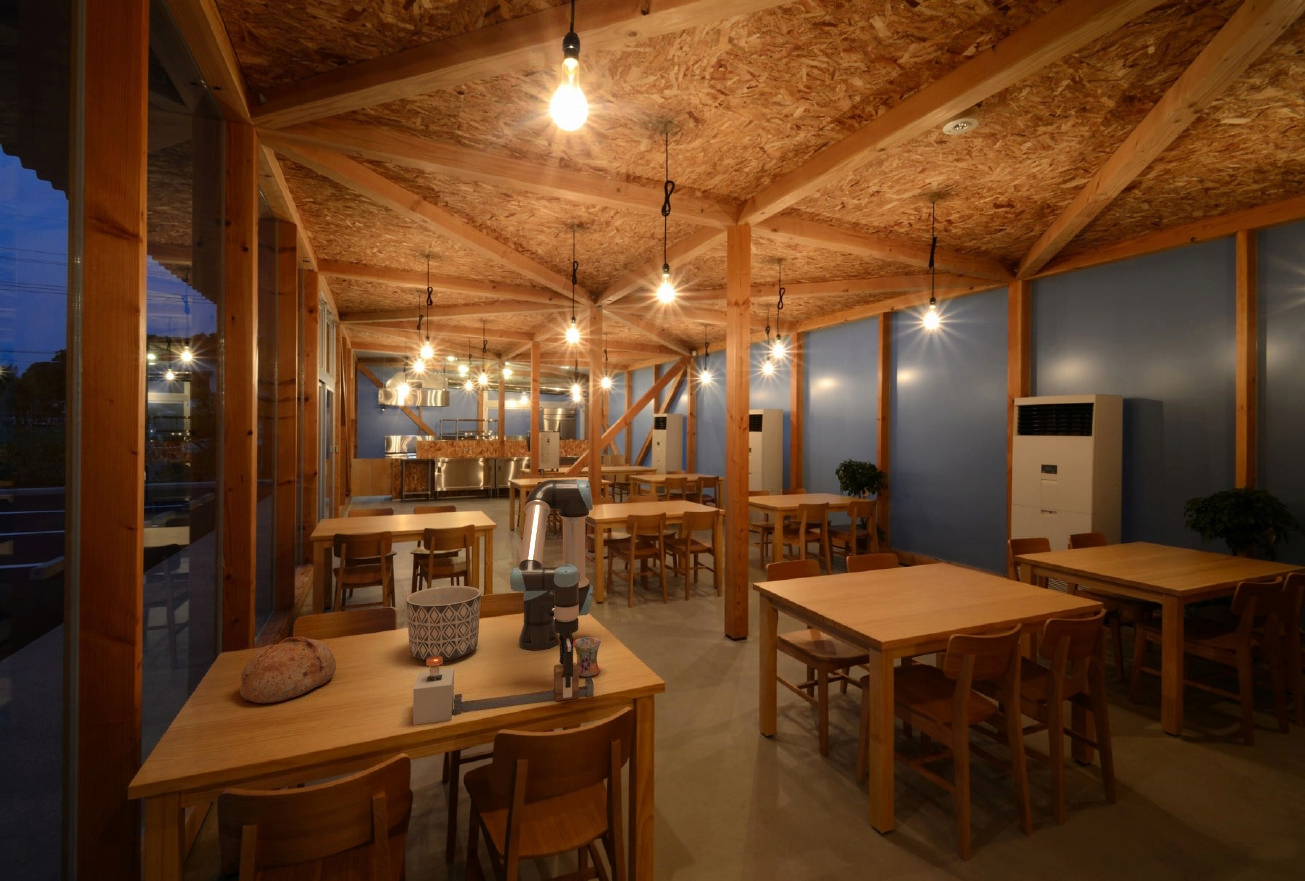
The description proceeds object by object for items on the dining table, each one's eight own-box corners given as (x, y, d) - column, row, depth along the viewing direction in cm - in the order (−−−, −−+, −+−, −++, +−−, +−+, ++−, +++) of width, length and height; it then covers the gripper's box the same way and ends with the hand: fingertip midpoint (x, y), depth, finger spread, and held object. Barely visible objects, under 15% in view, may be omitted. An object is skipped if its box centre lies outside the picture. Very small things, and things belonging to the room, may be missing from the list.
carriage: (553, 693, 173) (553, 664, 173) (576, 690, 175) (576, 662, 175) (555, 700, 168) (555, 671, 168) (578, 697, 170) (578, 668, 170)
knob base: (418, 705, 166) (418, 671, 166) (453, 700, 169) (453, 668, 169) (413, 724, 155) (413, 689, 154) (451, 719, 157) (451, 684, 157)
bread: (273, 712, 162) (273, 661, 162) (220, 699, 170) (220, 650, 170) (351, 676, 186) (351, 631, 186) (301, 666, 195) (301, 623, 194)
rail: (454, 708, 164) (454, 694, 164) (591, 690, 176) (591, 677, 176) (453, 714, 160) (453, 700, 160) (593, 696, 172) (593, 683, 172)
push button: (427, 678, 163) (427, 656, 163) (443, 676, 164) (443, 655, 164) (425, 684, 159) (425, 662, 159) (442, 682, 160) (442, 660, 160)
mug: (603, 676, 186) (603, 645, 186) (576, 680, 183) (576, 648, 183) (595, 663, 197) (595, 633, 197) (569, 666, 194) (569, 636, 194)
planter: (480, 638, 222) (480, 583, 222) (481, 663, 197) (481, 601, 197) (409, 645, 214) (409, 588, 214) (402, 672, 189) (402, 608, 189)
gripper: (550, 610, 179) (550, 682, 179) (557, 628, 162) (557, 708, 162) (573, 608, 181) (573, 679, 181) (583, 626, 164) (583, 704, 164)
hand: (566, 692), depth 172 cm, fingers closed on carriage, 5 cm apart
